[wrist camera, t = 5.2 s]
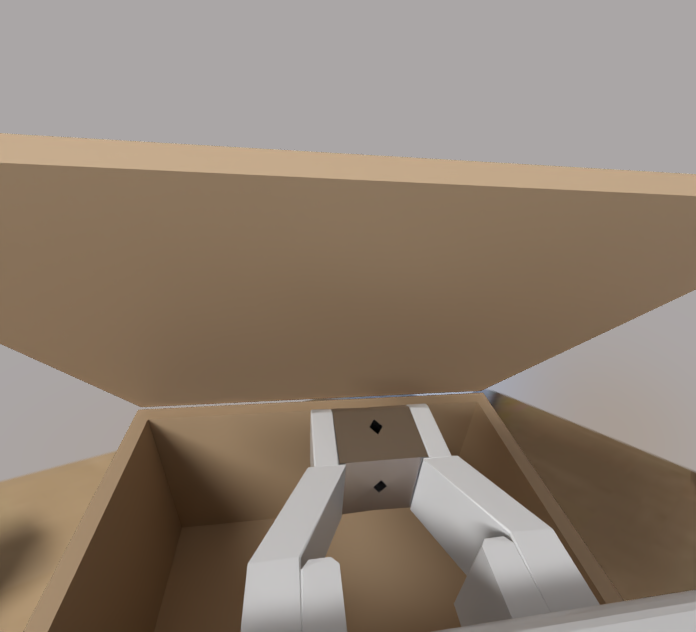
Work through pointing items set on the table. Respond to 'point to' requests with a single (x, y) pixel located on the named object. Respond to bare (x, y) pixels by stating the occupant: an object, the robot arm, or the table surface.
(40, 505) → the table surface
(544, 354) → the flap
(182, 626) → the carton
